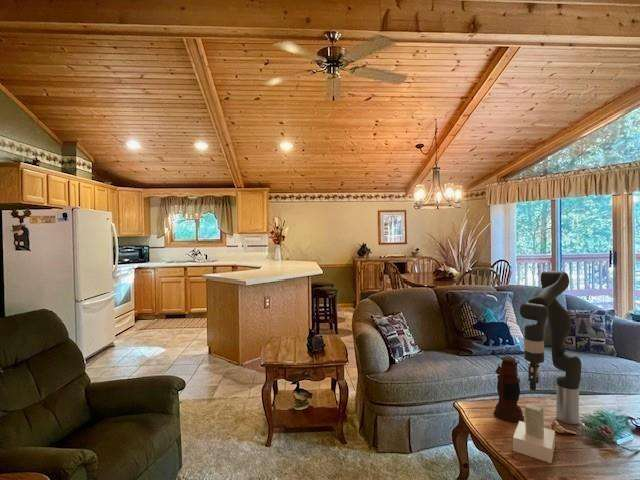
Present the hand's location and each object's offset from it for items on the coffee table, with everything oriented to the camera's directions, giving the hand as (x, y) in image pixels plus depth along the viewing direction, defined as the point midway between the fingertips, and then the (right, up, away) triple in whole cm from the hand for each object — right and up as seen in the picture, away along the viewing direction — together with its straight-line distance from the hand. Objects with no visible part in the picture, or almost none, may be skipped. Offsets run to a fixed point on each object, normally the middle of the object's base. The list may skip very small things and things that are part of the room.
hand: (534, 386), depth 156 cm
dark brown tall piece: (+3, -27, +27) cm, 38 cm away
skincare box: (0, -22, +1) cm, 22 cm away
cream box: (+1, -27, +1) cm, 27 cm away
